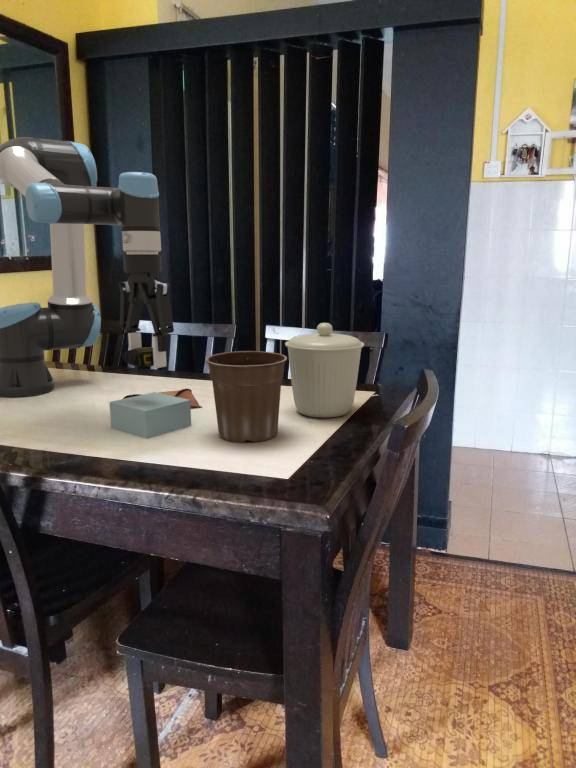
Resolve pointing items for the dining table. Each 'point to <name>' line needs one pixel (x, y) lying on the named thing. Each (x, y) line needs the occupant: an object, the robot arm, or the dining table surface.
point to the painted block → (150, 414)
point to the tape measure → (139, 357)
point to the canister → (324, 372)
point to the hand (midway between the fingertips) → (147, 364)
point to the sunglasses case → (180, 393)
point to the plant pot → (247, 393)
